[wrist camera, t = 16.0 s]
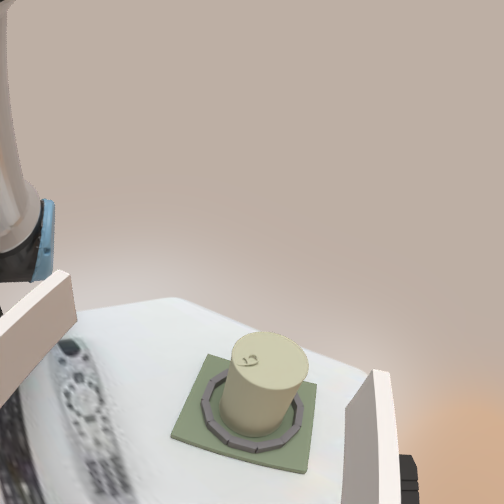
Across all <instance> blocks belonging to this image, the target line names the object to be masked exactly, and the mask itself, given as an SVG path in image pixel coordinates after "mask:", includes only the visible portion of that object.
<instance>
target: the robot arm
mask: <svg viewBox="0 0 504 504" xmlns="http://www.w3.org/2000/svg"><path fill="white" fill-rule="evenodd" d="M15 1H16V0H0V283H2V282H30V283H32V282H34V281H40V280H44V281H43V282H42V283H40V284H39V285H38V286H37V287H35V288H34V289H33V290H32V291H31V292H29V293H28V294H27V295H26V296H25V297H23V298H22V299H21V300H20V301H19V302H18V303H17V304H15V305H14V306H13V307H12V308H11V309H10V310H8V311H7V312H6V313H5V314H4V315H3V313H2V310H1V307H0V408H1V407H2V406H3V405H4V403H5V402H6V401H7V400H8V398H9V397H10V396H11V395H12V394H13V392H14V391H15V390H16V389H17V388H18V386H19V385H20V384H21V383H22V382H23V381H24V379H25V378H26V377H27V376H28V375H29V374H30V372H31V371H32V370H33V369H34V368H35V367H36V366H37V364H38V363H39V362H40V361H41V360H42V359H43V358H44V357H45V355H46V354H47V353H48V352H49V351H50V350H51V349H52V348H53V347H54V345H55V344H56V343H57V342H58V341H59V340H60V339H61V338H62V337H63V336H64V335H65V334H66V332H67V331H68V330H69V329H70V328H71V327H72V326H73V325H74V324H75V323H76V322H77V316H76V310H75V304H74V297H73V291H72V284H71V276H70V274H68V273H66V272H64V271H61V270H59V269H58V270H57V271H55V272H54V273H53V274H52V270H53V254H54V253H53V252H54V224H55V223H54V222H55V204H54V202H53V201H52V200H47V199H42V200H40V198H39V195H38V192H37V191H36V189H35V188H34V186H33V185H32V184H31V183H29V182H28V181H26V180H24V179H23V174H22V170H21V165H20V160H19V156H18V150H17V145H16V139H15V134H14V128H13V120H12V114H11V105H10V97H9V86H8V73H7V52H6V51H7V50H6V49H7V48H6V26H7V10H8V9H9V7H10V6H11V5H12V4H13V3H14V2H15ZM397 440H398V439H397V430H396V419H395V411H394V402H393V394H392V387H391V380H390V373H389V372H385V371H380V370H375V369H372V371H371V372H370V374H369V375H368V377H367V378H366V380H365V381H364V383H363V384H362V386H361V387H360V389H359V390H358V391H357V393H356V394H355V396H354V397H353V398H352V400H351V401H350V403H349V404H348V405H347V407H346V408H345V444H344V466H343V483H342V497H341V504H419V492H418V490H419V487H418V482H417V480H418V474H417V466H416V464H415V462H414V460H413V458H412V456H411V455H400V454H399V452H398V441H397Z"/></svg>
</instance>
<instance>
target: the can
mask: <svg viewBox="0 0 504 504" xmlns="http://www.w3.org/2000/svg"><path fill="white" fill-rule="evenodd" d="M308 369H309V364H308V359H307V357H306V354H305V353H304V351H303V350H302V349H301V348H300V347H299V346H298V345H297V344H296V343H295V342H293V341H292V340H290V339H289V338H287V337H285V336H282V335H279V334H276V333H271V332H254V333H250V334H247V335H245V336H243V337H242V338H240V339H239V340H238V341H237V342H236V343H235V345H234V347H233V350H232V357H231V362H230V366H229V370H228V375H227V379H226V383H225V387H224V391H223V395H222V397H221V399H220V402H219V413H220V416H221V418H222V420H223V422H224V423H225V424H226V425H227V426H228V427H229V428H230V429H231V430H233V431H234V432H236V433H238V434H240V435H243V436H247V437H263V436H266V435H269V434H271V433H273V432H274V431H275V430H277V429H278V428H279V426H280V425H281V423H282V421H283V417H284V415H285V413H286V411H287V410H288V408H289V406H290V404H291V402H292V400H293V398H294V396H295V395H296V393H297V391H298V389H299V387H300V385H301V384H302V382H303V380H304V379H305V377H306V376H307V373H308Z"/></svg>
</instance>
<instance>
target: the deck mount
mask: <svg viewBox="0 0 504 504" xmlns="http://www.w3.org/2000/svg"><path fill="white" fill-rule="evenodd" d="M230 362H231V361H229V360H226V359H223V358H220V357H217V356H213V355H210V354H208V355H207V357H206V359H205V361H204V363H203V366H202V368H201V370H200V372H199V374H198V376H197V379H196V381H195V383H194V385H193V387H192V389H191V392H190V394H189V396H188V398H187V400H186V402H185V405H184V407H183V409H182V411H181V413H180V415H179V418H178V420H177V422H176V424H175V426H174V428H173V431H172V433H171V438H174V439H176V440H179V441H182V442H185V443H187V444H190V445H193V446H196V447H199V448H202V449H205V450H208V451H211V452H215V453H218V454H221V455H225V456H228V457H231V458H235V459H239V460H242V461H246V462H250V463H254V464H258V465H262V466H267V467H271V468H276V469H280V470H285V471H290V472H295V473H301V474H305V473H306V472H307V466H308V459H309V452H310V444H311V436H312V427H313V418H314V409H315V399H316V388H317V384H314V383H309V382H305V381H303V382H302V384H301V385H300V387H299V389H298V391H297V393H296V395H295V396H294V398H293V400H292V402H291V404H290V406H289V408H288V410H287V411H286V413H285V415H284V417H283V421H282V423H281V425H280V426H279V428H278V429H277V430H275V431H274V432H273V433H271V434H269V435H266V436H263V437H247V436H243V435H240V434H238V433H236V432H234V431H233V430H231V429H230V428H229V427H228V426H227V425H226V424H225V423H224V422H223V420H222V418H221V416H220V413H219V402H220V399H221V397H222V395H223V391H224V387H225V383H226V379H227V375H228V370H229V366H230Z"/></svg>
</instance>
